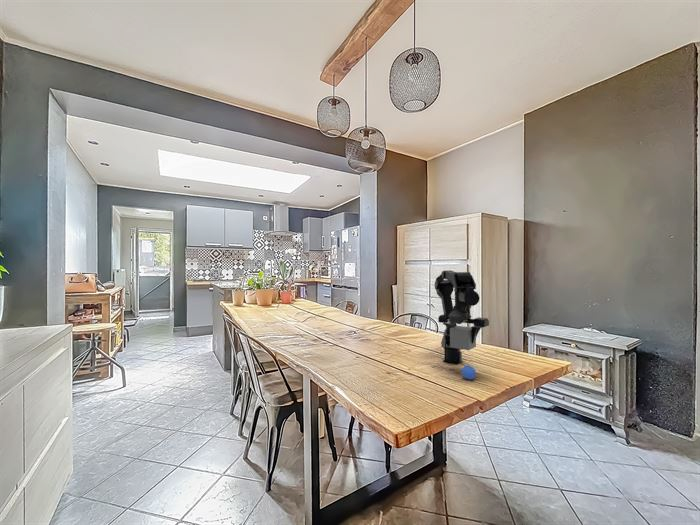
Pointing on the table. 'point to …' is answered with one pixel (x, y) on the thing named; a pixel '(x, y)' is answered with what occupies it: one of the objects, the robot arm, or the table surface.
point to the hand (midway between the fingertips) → (463, 341)
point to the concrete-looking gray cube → (461, 338)
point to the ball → (468, 372)
